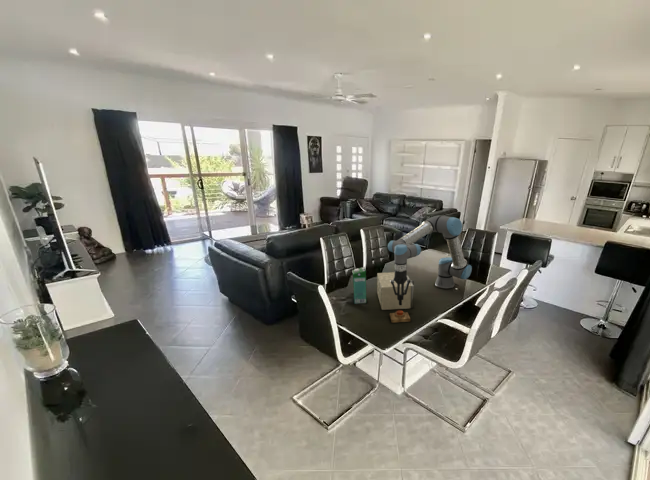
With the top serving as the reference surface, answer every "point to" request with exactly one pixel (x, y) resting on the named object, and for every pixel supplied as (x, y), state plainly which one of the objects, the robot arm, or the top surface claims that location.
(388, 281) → the beige box
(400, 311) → the button
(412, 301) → the door
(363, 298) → the milk carton
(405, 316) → the tan button base
